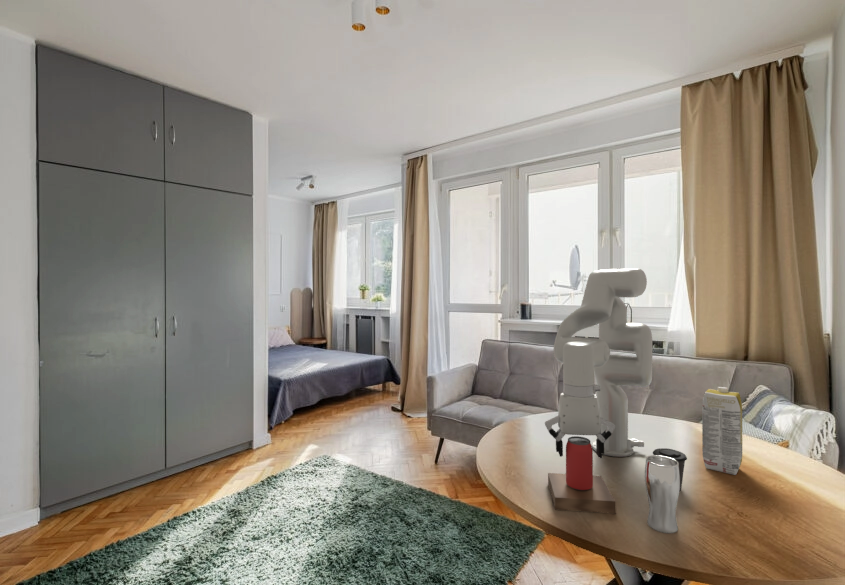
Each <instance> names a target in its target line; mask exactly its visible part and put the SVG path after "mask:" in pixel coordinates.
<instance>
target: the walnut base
mask: <svg viewBox="0 0 845 585" xmlns="http://www.w3.org/2000/svg"><path fill="white" fill-rule="evenodd" d="M547 484H548V489H549V492H550V495H551V499H552V500H551V501H552V503H553V507H554V510H558V511H571V512H583V513H584V512H586V513H600V514H613V515H616V513H617V512H616V509H617V508H616V499H615V498H614V496H613V494H612V493H611V490H610V489H609V487H608V486H607V484H606V481H605V480H604V478H603V477H602V475H593V487H592V488H591V489H589V490H586V491H580V490H575V489H573V488H571V487H569V486H568V485H567V483H566V473H556V472H555V473H554V472H552V473H551V472H547Z"/></svg>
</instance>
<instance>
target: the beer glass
mask: <svg viewBox="0 0 845 585" xmlns="http://www.w3.org/2000/svg"><path fill="white" fill-rule="evenodd" d="M644 466H645V467H644V482H645V491H646V495H647V499H648V508H649V509H648V516H647V526H649V527H650V528H651V529H652V530H655V531H657V532H659V533H663V534H674V533H677V532H678V531H679V530H678V528H679V526H678V522H677V514H676V513H677V512H676V511H677V506H678V501H679V496H680V492H679V490H680V474H679V463H678V461H676V460H675V459H673V458H670V457H666V456H661V455H653V454H651V455H647V456H646V457H645V465H644Z"/></svg>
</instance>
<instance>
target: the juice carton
mask: <svg viewBox="0 0 845 585" xmlns="http://www.w3.org/2000/svg"><path fill="white" fill-rule="evenodd" d="M728 390H729V388H728V387H725V386H723V387H722V386H717V389H712V388H708V389H707V390H705V392H704V394H703V398H702V402H701V403H702V407H701V408H702V411H701V413H702V414H701V415H702V419H701V420H702V423H701V426H702V427H701V429H702V431H701V432H702V434H701V435H702V436H701V438H702V440H701V442H702V444H701V445H702V446H701V447H702V459H703V464H704V466H705V468H706V469H708V470H712V471H717V472H720V473H725V474H729V475H733V476H736V475H737V473H738V472H739V469H740V467H741V465H742V462H743V403H742V397H741V394H740V393H739V392H735V391H728Z"/></svg>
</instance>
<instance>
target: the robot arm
mask: <svg viewBox="0 0 845 585" xmlns="http://www.w3.org/2000/svg"><path fill="white" fill-rule="evenodd" d="M647 283H648V281H647V275H646V273H645V271H644V270H643V269H641V268H620V269H619V268H618V269H617V268H609V269H607V268H606V269H599V270H598V269H597V270H594V271H592V272H591V273H589V274H588V278H587V281H586V284H585V285H586V286H585V288H584V292H583V293H584V294H583V296H582V300H581V305H580V307H578V308H577V309H576V310H573V311H572V312H571V313H570V314H569V315H568V316H566V318H564V320H562V322H560V325H559V327H558V328H557V333H556V335H555V339H554V344H553V356H554V358H555V359H556V361H557V362H559V363H561V364H562V378H563V380H562V381H563V384H562V385H563V392H561V393H560V395H559V399H558V400H559V401H558V410H557V411H558V412H557V414H558V415H556V416H554V417H552V418H550V419H547V420H545V421H544V426H545V428H546V429H547V431H548V433H549V434H550V436H552V437H553V439H555V451H556V453H558V455H559V457H561V458H562V457H564V456H563V455H564V450H563V449H564V447H563V446H564V442H563V440H562V439H564V437H565V436H566V435H570V436H595V437H596V440H594V441H593V442H592V443H591V446H592V449H593V450H594V452H596V455H597V457H598V458H599V459H603V456H604V455H605V456H609V457H616V458H617V457H618V458H621V457H629V456H631V455H633V454H634V448H635V447H638V448H644V447H645V443H644V440H638V439H637V438H630V437H629V409H628V408H629V406H628V405H629V400H628V396H627V393H626V392H625V391H624V389H623V388H622V387H621V386H626V387H636V388H637V387H638V388H646V387H649V386H650V385H651V383H652V381H653V380H652V379H653V335H652V329H651V328H650V326H648V325H647V324H645V323H640V322H628V314H627V313H628V307H627V306H626V304H625V303H624V301H623V300H622V298H637V297H640V296H642V295H643V294H644V293H645V291H646V288H647V285H648V284H647ZM597 325H598V338H594V337H579V336H578V337H577V336H574V334H576V333H578V332H580V331H581V330H584V329H587V328H590V327H593V326H597ZM611 351H613V352H623V353H634V354H635V356H630V355H629V356H628V355H627V356H626V355H618V354H611ZM556 424H557V425H558V429H557V431H555V430H554V428H553V427H552V426H554V425H556Z"/></svg>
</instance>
